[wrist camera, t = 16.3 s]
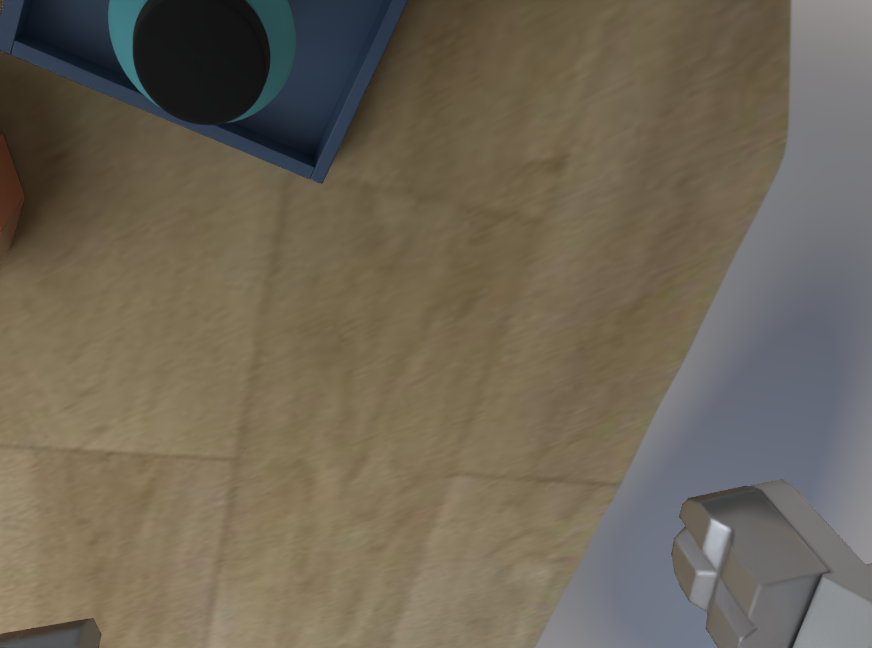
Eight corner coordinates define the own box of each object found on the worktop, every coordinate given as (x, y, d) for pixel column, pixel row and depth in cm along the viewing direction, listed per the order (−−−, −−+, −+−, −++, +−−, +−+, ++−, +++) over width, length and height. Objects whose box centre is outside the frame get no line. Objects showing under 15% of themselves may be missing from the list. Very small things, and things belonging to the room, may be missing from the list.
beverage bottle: (139, -95, 35) (50, -70, 19) (278, -85, 37) (308, -54, 20) (157, 45, 38) (94, 171, 22) (283, 48, 40) (313, 169, 23)
